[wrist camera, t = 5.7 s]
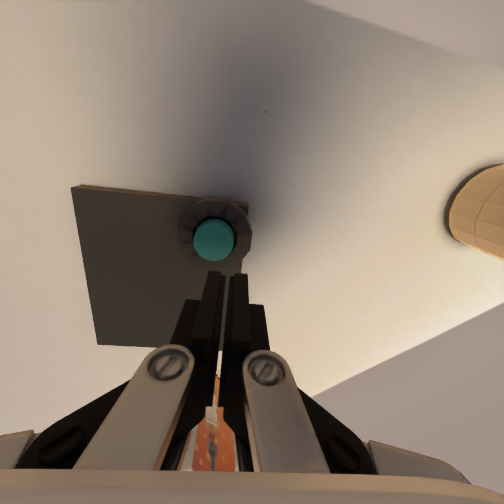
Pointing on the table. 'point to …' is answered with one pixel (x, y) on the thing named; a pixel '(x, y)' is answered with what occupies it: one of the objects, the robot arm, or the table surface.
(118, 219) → the scale
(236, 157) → the table surface
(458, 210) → the little bowl
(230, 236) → the button
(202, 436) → the small box
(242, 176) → the table surface
